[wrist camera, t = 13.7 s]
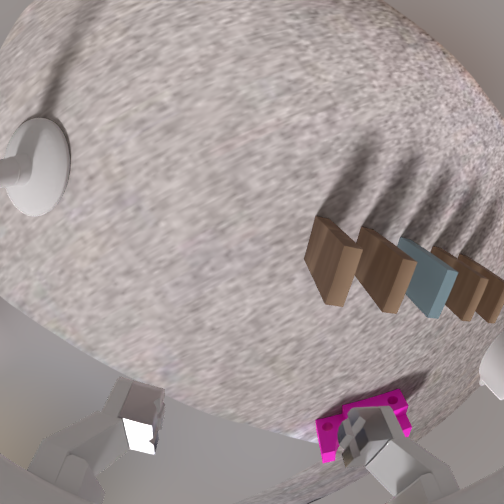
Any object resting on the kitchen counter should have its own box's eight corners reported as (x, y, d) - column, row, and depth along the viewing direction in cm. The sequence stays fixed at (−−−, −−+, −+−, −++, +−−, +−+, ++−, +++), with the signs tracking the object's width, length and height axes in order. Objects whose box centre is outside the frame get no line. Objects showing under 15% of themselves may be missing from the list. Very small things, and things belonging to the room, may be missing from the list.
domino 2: (373, 229, 31) (417, 262, 21) (360, 269, 32) (396, 313, 23) (361, 226, 30) (403, 258, 21) (348, 267, 32) (382, 312, 23)
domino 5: (466, 255, 32) (511, 285, 22) (453, 287, 33) (494, 323, 24) (459, 253, 32) (505, 284, 22) (446, 286, 33) (488, 322, 24)
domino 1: (329, 218, 30) (362, 249, 21) (317, 261, 32) (342, 306, 22) (315, 215, 30) (344, 245, 21) (303, 259, 32) (325, 304, 22)
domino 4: (441, 248, 31) (488, 279, 22) (428, 282, 33) (470, 321, 24) (432, 245, 31) (480, 277, 22) (419, 281, 33) (461, 320, 23)
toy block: (398, 387, 40) (414, 418, 33) (394, 408, 42) (407, 437, 35) (314, 410, 41) (321, 446, 34) (316, 429, 43) (322, 463, 36)
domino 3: (387, 275, 32) (427, 317, 23) (400, 236, 31) (447, 269, 21) (397, 277, 33) (438, 318, 23) (410, 239, 31) (458, 272, 22)
